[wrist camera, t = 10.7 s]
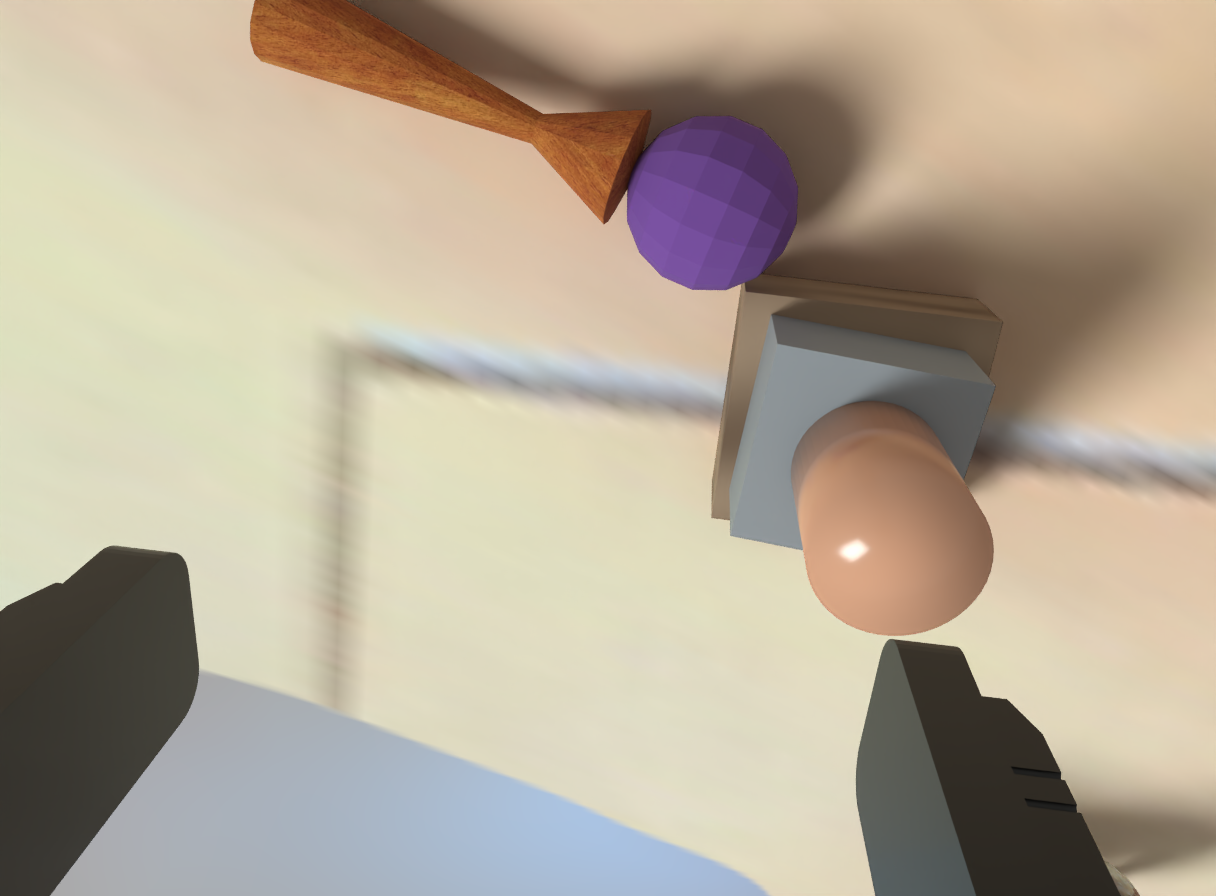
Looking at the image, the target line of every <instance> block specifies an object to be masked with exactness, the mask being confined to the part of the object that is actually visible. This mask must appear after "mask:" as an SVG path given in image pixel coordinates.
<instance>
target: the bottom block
mask: <svg viewBox="0 0 1216 896" xmlns="http://www.w3.org/2000/svg"><path fill="white" fill-rule="evenodd" d="M771 314H773V315H778V316H784V317H789V318H794V319H799V320H804V321H810V322H815V323H820V324H825V325H831V326H836V327H841V328H846V329H852V330H857V331H862V332H867V333H872V334H878V335H883V336H888V337H893V338H899V339H904V340H909V341H914V342H920V343H925V344H930V345H935V346H941V347H946V348H951V349H956V350H961V351H966V352H967V353H968V355H969V356H970V357H971V358H972V359H973V360H974V361H975V363H976V364H977V365H978V366H979V367H980V368H981V369H982V371H983V372H984V373H985V374H986V375H987V376H988V377H989V374H990V370H991V366H992V362H993V359H994V355H995V351H996V347H997V343H998V339H999V335H1000V331H1001V328H1002V324H1003V322H1002V321H1001V320H1000V319H999V318H998V317H997V316H996V315H995V314H993V313H992V312H991V311H990V310H989V309H988V308H987V307H986V306H985V305H983V304H982V303H981V302H980V301H979V300H978V299H973V298H964V297H955V296H947V295H938V294H929V293H921V292H912V291H904V290H895V289H886V288H878V287H869V286H861V285H852V284H843V283H835V282H826V281H817V280H809V279H800V278H792V277H783V276H774V275H766V274H760V275H759V276H758V277H757V278H755V279H752V280H750V281H747V282H745V283H742V284H741V291H740V298H739V304H738V311H737V318H736V324H735V331H734V338H733V344H732V351H731V358H730V364H729V371H728V378H727V385H726V391H725V398H724V405H723V411H722V418H721V425H720V431H719V438H718V445H717V451H716V458H715V465H714V471H713V478H712V517H711V518H716V519H724V520H730V499H729V488H730V484H731V479H732V475H733V471H734V467H735V463H736V459H737V454H738V450H739V446H740V442H741V438H742V433H743V429H744V425H745V421H746V417H747V413H748V408H749V404H750V400H751V396H752V392H753V388H754V383H755V379H756V375H757V371H758V367H759V363H760V358H761V354H762V350H763V346H764V342H765V338H766V333H767V329H768V325H769V321H770V317H771Z"/></svg>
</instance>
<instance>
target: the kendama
mask: <svg viewBox="0 0 1216 896" xmlns="http://www.w3.org/2000/svg"><path fill="white" fill-rule="evenodd" d="M250 40H251V44H252V47H253V51H254V54H255V55H256V56H257V57H258V58H259V59H260V60H261V61H262V62H266V63H269V64H272V65H276V66H279V67H282V68H285V69H289V70H292V71H295V72H298V73H302V74H305V75H308V76H312V77H315V78H318V79H321V80H325V81H328V82H331V83H335V84H338V85H341V86H344V87H348V88H351V89H354V90H358V91H361V92H364V93H367V94H371V95H374V96H377V97H380V98H384V99H387V100H390V101H394V102H397V103H400V104H403V105H407V106H410V107H413V108H417V109H420V110H423V111H426V112H430V113H433V114H436V115H440V116H443V117H446V118H449V119H453V120H456V121H459V122H462V123H466V124H469V125H472V126H476V127H479V128H482V129H485V130H489V131H492V132H495V133H499V134H502V135H505V136H508V137H512V138H515V139H518V140H522V141H525V142H528V143H531V144H532V145H533V146H534V147H535V148H536V149H537V150H538V151H539V152H540V153H541V155H542V156H543V157H544V158H545V159H546V160H547V161H548V162H549V164H550V165H551V166H552V167H553V168H554V169H555V170H556V171H557V173H558V174H559V175H560V176H561V177H562V178H563V179H564V180H565V181H566V183H567V184H568V185H569V186H570V187H571V188H572V189H573V190H574V192H575V193H576V194H577V195H578V196H579V197H580V198H581V199H582V200H583V202H584V203H585V204H586V205H587V206H588V207H589V208H590V209H591V211H592V212H593V213H594V214H595V215H596V216H597V217H598V218H599V219H600V221H601V222H602V223H603V224H605V223H607V222H608V221H609V219H610V218H611V216H612V215H613V213H614V211H615V210H616V208H617V206H618V204H619V203H620V201H621V199H622V198H623V196H624V194H625V192H626V191H627V189H628V192H627V222H628V225H629V227H630V230H631V232H632V235H633V237H634V240H635V243H636V245H637V248H638V250H639V253H640V254H641V255H642V256H643V257H644V258H645V259H646V260H647V261H648V262H649V263H650V264H651V265H652V266H653V267H654V268H655V269H656V271H657V272H658V273H659V274H660V275H661V276H662V277H664V278H667V279H669V280H671V281H674V282H676V283H678V284H681V285H683V286H685V287H687V288H690V289H692V290H727V289H730V288H732V287H735V286H737V285H740V284H742V283H745V282H747V281H750V280H752V279H755V278H757V277H758V276H759V275H760V274H761V273H762V272H763V271H764V270H765V269H767V268H768V267H769V266H770V265H771V264H772V263H773V262H774V261H775V260H776V259H777V258H778V257H779V256H780V255H781V254H782V253H783V251H784V249H785V248H786V246H787V244H788V241H789V239H790V237H791V235H792V233H793V230H794V228H795V225H796V220H797V199H798V186H797V183H796V180H795V178H794V175H793V172H792V169H791V167H790V164H789V161H788V158H787V156H786V154H785V153H784V152H783V151H782V150H781V149H780V148H779V146H778V145H777V144H776V143H775V142H774V141H773V140H772V139H771V138H770V137H769V136H768V135H767V134H766V133H765V131H764V130H763V129H760V128H758V127H756V126H753V125H751V124H749V123H746V122H744V121H742V120H739V119H737V118H735V117H732V116H696V117H693V118H691V119H688V120H686V121H684V122H682V123H679V124H677V125H675V126H672V127H670V128H668V129H666V130H663V131H662V132H661V133H660V134H659V135H658V136H657V138H656V139H655V140H654V141H653V142H652V143H651V144H650V145H649V146H648V147H647V148H646V149H645V150H644V151H643V147H644V143H645V139H646V135H647V131H648V127H649V123H650V119H651V110H633V111H608V112H582V113H556V114H542V113H541V112H539V111H537V110H535V109H534V108H532V107H530V106H528V105H527V104H525V103H523V102H521V101H520V100H518V99H516V98H515V97H513V96H511V95H509V94H508V93H506V92H504V91H502V90H501V89H499V88H497V87H495V86H494V85H492V84H490V83H488V82H487V81H485V80H483V79H482V78H480V77H478V76H476V75H475V74H473V73H471V72H469V71H468V70H466V69H464V68H462V67H461V66H459V65H457V64H455V63H454V62H452V61H450V60H448V59H447V58H445V57H443V56H442V55H440V54H438V53H436V52H435V51H433V50H431V49H429V48H428V47H426V46H424V45H422V44H421V43H419V42H417V41H415V40H414V39H412V38H410V37H409V36H407V35H405V34H403V33H402V32H400V31H398V30H396V29H395V28H393V27H391V26H389V25H388V24H386V23H384V22H382V21H381V20H379V19H377V18H376V17H374V16H372V15H370V14H369V13H367V12H365V11H363V10H362V9H360V8H358V7H356V6H355V5H353V4H351V3H349V2H348V1H346V0H255V2H254V7H253V12H252V16H251V21H250ZM642 151H643V153H642Z"/></svg>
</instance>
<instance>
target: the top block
mask: <svg viewBox="0 0 1216 896" xmlns="http://www.w3.org/2000/svg"><path fill="white" fill-rule="evenodd" d="M995 387H996V385H995V384H994V383H993V382H992V381H991V380H990V379H989V377H988V376H987V375H986V374H985V373H984V372H983V371H982V369H981V368H980V367H979V366H978V365H977V364H976V363H975V361H974V360H973V359H972V358H971V357H970V356H969V355H968V353H967V352H966V351H961V350H956V349H951V348H946V347H941V346H935V345H930V344H925V343H920V342H914V341H909V340H904V339H899V338H893V337H888V336H883V335H878V334H872V333H867V332H862V331H857V330H852V329H846V328H841V327H836V326H831V325H825V324H820V323H815V322H810V321H804V320H799V319H794V318H789V317H784V316H778V315H773V314H771V317H770V321H769V325H768V329H767V333H766V338H765V342H764V346H763V350H762V354H761V358H760V363H759V367H758V371H757V375H756V379H755V383H754V388H753V392H752V396H751V400H750V404H749V408H748V413H747V417H746V421H745V425H744V429H743V433H742V438H741V442H740V446H739V450H738V454H737V459H736V463H735V467H734V471H733V475H732V479H731V484H730V488H729V499H730V536H734V537H739V538H744V539H749V540H754V541H759V542H764V543H769V544H774V545H779V546H784V547H789V548H794V549H799V550H803V546H802V541H801V535H800V529H799V524H798V518H797V512H796V507H795V501H794V495H793V490H792V484H791V464H792V459H793V455H794V452H795V450H796V447H797V445H798V443H799V441H800V440H801V438H802V436H803V435H804V434H805V432H806V431H807V430H808V429H809V428H810V427H811V426H812V425H813V424H814V423H815V422H816V421H817V420H818V419H820V418H821V417H822V416H824V415H825V414H827V413H829V412H830V411H832V410H834V409H836V408H839V407H841V406H844V405H847V404H851V403H855V402H862V401H882V402H888V403H893V404H896V405H899V406H902V407H904V408H906V409H908V410H910V411H912V412H914V413H915V414H917V415H918V416H920V417H921V418H922V419H923V420H924V421H925V422H927V423H928V425H929V426H930V427H931V428H932V429H933V431H934V432H935V434H936V436H937V437H938V439H939V441H940V442H941V444H942V446H943V447H944V449H945V451H946V452H947V454H948V456H949V457H950V459H951V461H952V462H953V464H954V466H955V467H956V469H957V471H958V472H959V474H960V476H961V477H962V479H963V480H964V477H965V475H966V472H967V469H968V466H969V463H970V460H971V457H972V454H973V451H974V448H975V445H976V442H977V440H978V437H979V434H980V431H981V428H982V425H983V422H984V419H985V416H986V413H987V410H988V407H989V405H990V402H991V399H992V396H993V393H994V390H995Z"/></svg>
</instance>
